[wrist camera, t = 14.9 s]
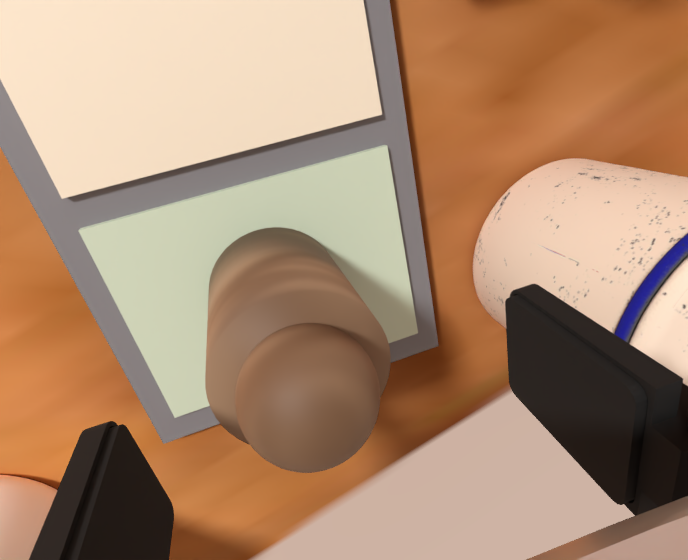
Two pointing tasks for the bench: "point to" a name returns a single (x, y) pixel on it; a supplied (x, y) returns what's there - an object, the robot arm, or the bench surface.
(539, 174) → the teacup with lid
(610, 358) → the robot arm
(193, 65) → the game board
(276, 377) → the pawn
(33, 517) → the cup
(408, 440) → the bench surface
